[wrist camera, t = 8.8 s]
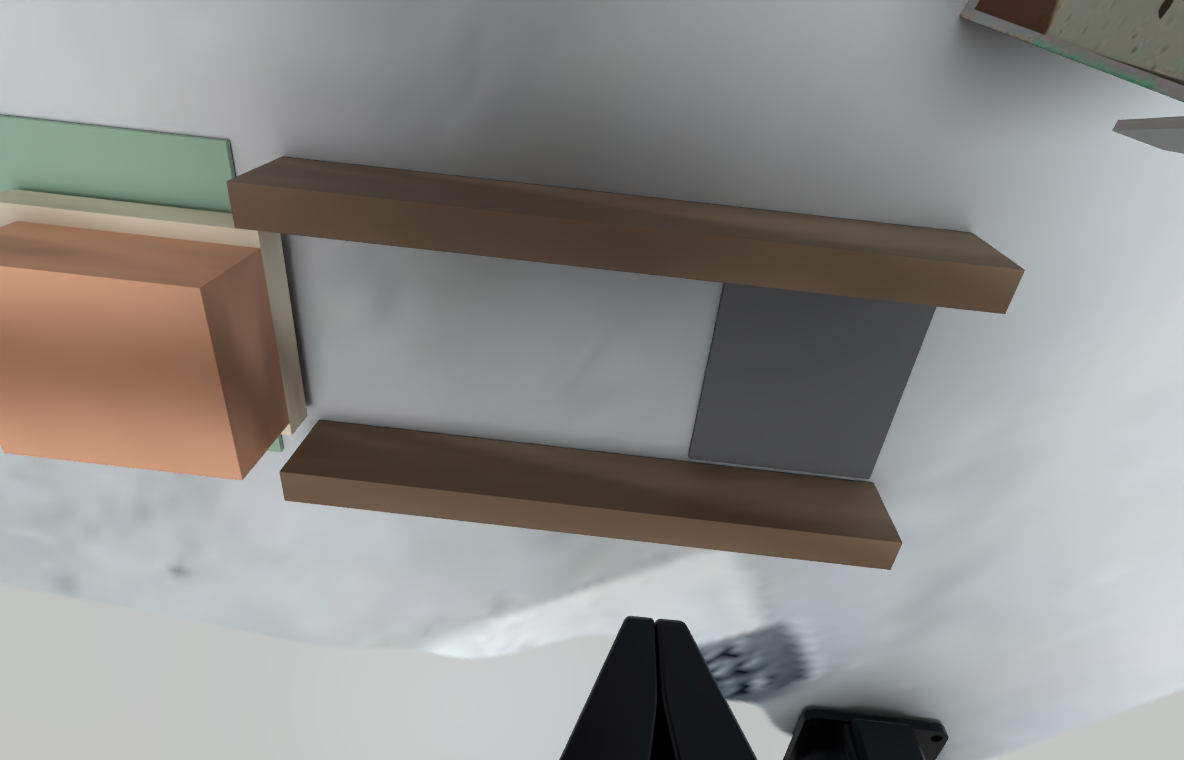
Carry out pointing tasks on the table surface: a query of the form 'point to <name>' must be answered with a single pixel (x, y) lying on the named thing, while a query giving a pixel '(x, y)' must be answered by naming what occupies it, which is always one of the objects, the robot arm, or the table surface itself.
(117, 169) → the pad
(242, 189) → the channel
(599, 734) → the robot arm
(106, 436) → the block
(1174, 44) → the food container
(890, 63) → the table surface
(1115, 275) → the table surface
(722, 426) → the trap pit
